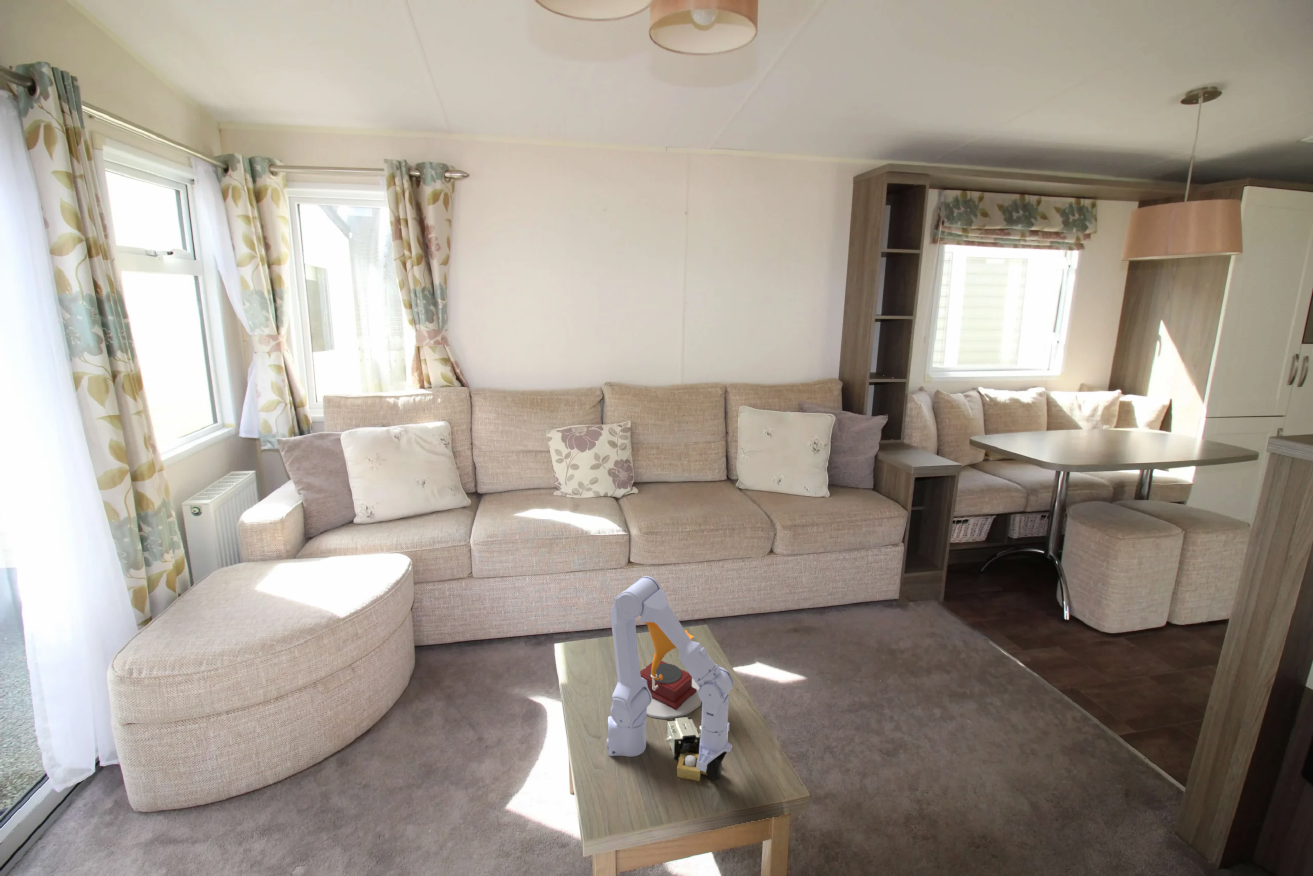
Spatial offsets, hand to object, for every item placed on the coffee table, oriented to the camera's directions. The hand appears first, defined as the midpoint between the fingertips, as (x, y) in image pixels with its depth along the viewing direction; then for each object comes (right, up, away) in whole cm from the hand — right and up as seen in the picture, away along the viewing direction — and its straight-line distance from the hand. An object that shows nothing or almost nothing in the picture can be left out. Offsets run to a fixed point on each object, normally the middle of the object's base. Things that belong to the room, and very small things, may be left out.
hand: (712, 776), depth 135 cm
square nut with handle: (-3, 0, +2) cm, 4 cm away
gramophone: (-10, +5, +30) cm, 32 cm away
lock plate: (-5, -1, +3) cm, 6 cm away
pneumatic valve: (+2, +4, +12) cm, 13 cm away
